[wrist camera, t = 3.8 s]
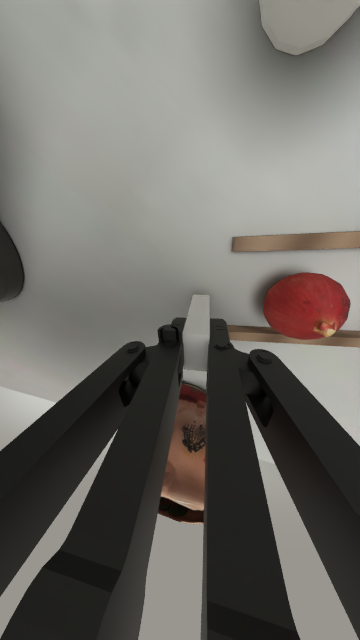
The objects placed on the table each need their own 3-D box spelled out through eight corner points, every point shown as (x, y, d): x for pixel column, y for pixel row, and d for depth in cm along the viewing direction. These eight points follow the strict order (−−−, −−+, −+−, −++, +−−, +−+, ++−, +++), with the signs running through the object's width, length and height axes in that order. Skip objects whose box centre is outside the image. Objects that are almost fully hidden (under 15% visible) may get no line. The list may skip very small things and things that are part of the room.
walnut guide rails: (222, 332, 21) (223, 339, 19) (232, 237, 15) (235, 237, 14) (436, 343, 17) (454, 352, 16) (552, 222, 11) (597, 220, 10)
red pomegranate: (317, 259, 15) (412, 279, 8) (311, 311, 17) (379, 361, 10) (253, 273, 16) (286, 301, 10) (255, 319, 19) (283, 368, 12)
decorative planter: (260, 398, 26) (306, 542, 14) (228, 431, 32) (241, 549, 20) (147, 361, 26) (94, 472, 14) (138, 401, 32) (95, 501, 20)
